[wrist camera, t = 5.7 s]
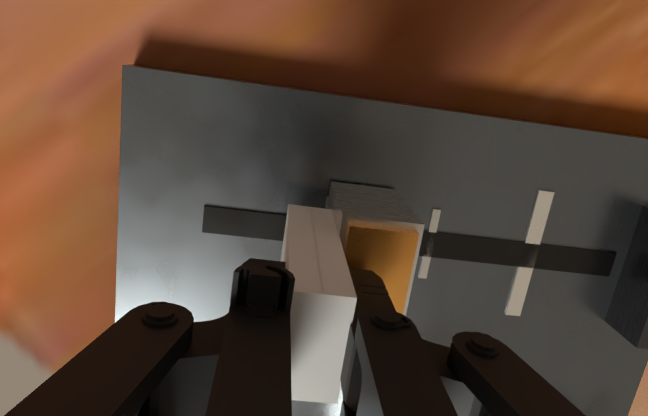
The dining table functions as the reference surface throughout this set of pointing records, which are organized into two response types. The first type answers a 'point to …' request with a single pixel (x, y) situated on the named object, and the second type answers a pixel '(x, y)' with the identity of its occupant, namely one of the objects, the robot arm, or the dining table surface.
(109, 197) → the dining table surface
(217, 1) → the dining table surface
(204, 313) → the console
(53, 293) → the dining table surface
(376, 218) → the fader
